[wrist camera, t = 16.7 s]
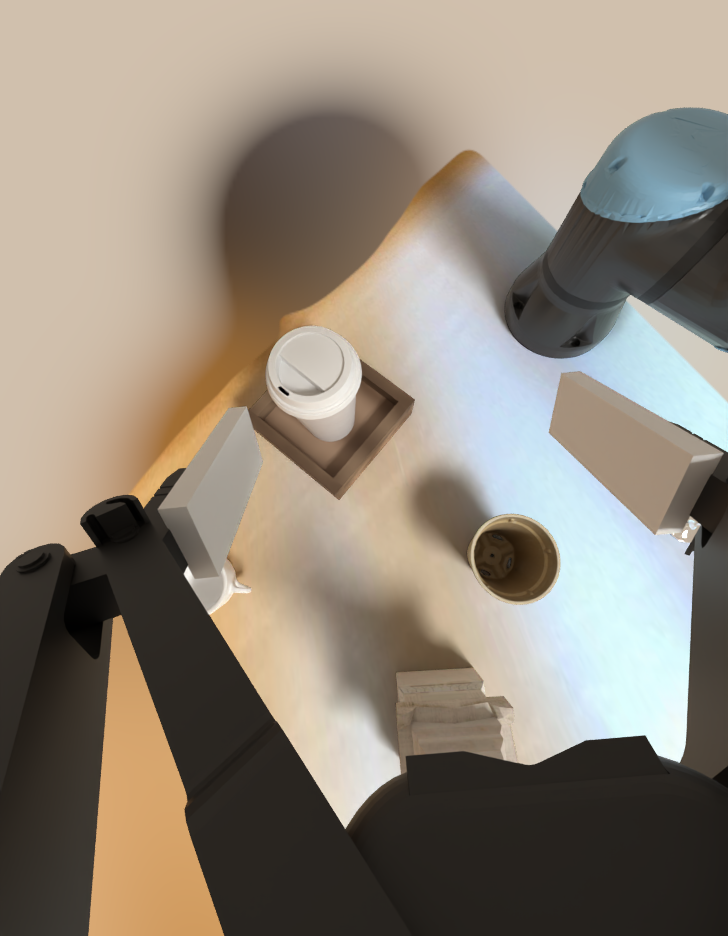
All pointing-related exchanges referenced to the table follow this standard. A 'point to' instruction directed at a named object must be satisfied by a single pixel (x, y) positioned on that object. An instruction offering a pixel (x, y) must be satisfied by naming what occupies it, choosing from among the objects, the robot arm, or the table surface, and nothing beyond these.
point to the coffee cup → (315, 380)
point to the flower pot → (515, 559)
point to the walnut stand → (349, 456)
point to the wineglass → (687, 531)
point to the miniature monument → (451, 715)
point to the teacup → (216, 587)
